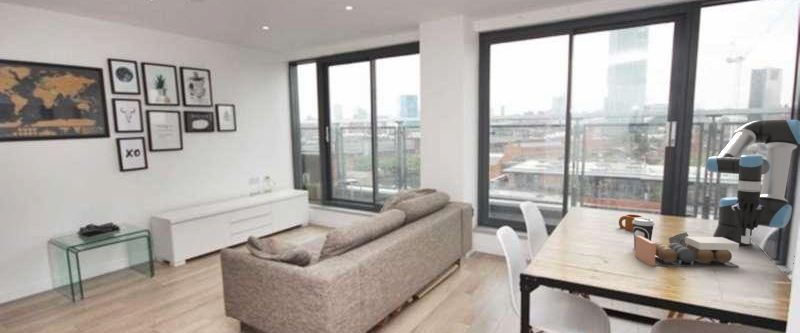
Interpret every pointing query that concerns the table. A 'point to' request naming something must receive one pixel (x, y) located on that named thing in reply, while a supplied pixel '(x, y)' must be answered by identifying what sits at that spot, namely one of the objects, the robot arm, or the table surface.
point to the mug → (628, 221)
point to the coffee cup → (643, 228)
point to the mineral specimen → (679, 239)
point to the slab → (711, 243)
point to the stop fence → (645, 250)
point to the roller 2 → (683, 252)
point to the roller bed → (692, 263)
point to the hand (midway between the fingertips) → (745, 242)
